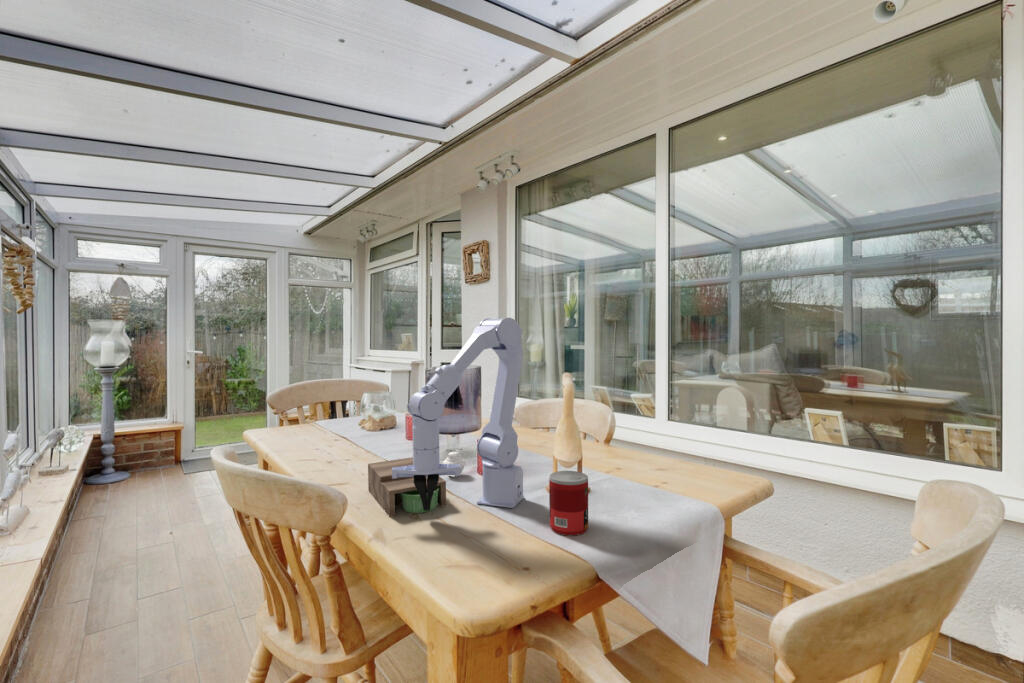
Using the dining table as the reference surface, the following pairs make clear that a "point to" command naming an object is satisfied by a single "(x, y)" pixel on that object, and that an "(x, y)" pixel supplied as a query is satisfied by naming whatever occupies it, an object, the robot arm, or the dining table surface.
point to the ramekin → (417, 501)
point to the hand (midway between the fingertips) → (427, 508)
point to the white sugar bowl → (455, 460)
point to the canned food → (568, 502)
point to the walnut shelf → (395, 484)
